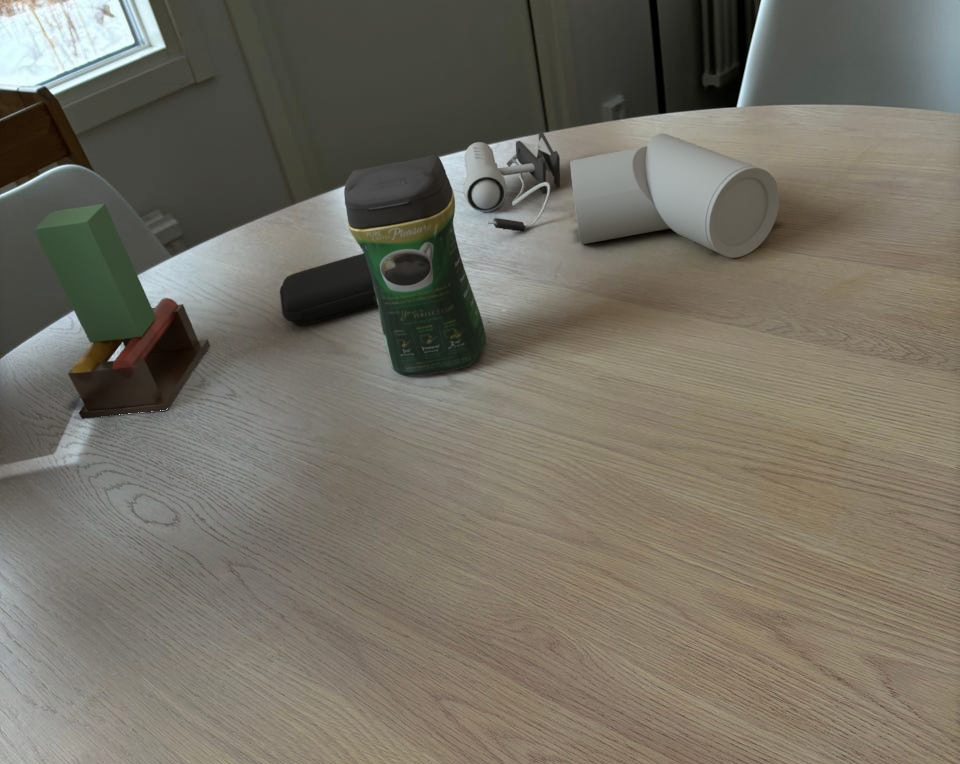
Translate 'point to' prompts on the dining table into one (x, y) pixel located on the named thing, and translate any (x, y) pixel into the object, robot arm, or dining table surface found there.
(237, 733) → the dining table surface
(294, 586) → the dining table surface
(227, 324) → the dining table surface
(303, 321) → the carrying case
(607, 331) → the dining table surface
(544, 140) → the clip-on lamp
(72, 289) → the green bar
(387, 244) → the coffee jar
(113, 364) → the rod stand
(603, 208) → the l-shaped cylinder
